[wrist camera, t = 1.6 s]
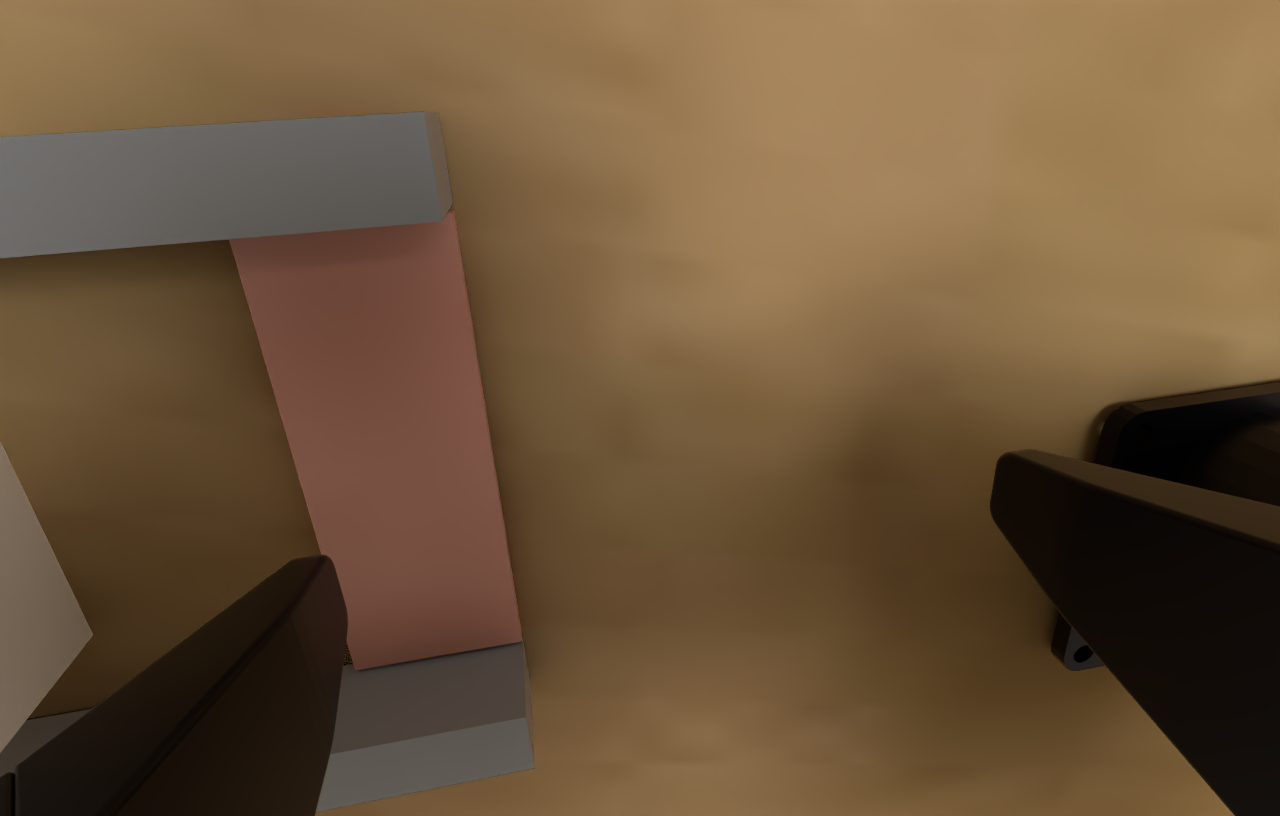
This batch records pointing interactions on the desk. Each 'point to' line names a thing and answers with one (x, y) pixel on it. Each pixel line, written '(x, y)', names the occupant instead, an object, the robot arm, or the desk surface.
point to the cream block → (31, 609)
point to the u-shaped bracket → (338, 404)
